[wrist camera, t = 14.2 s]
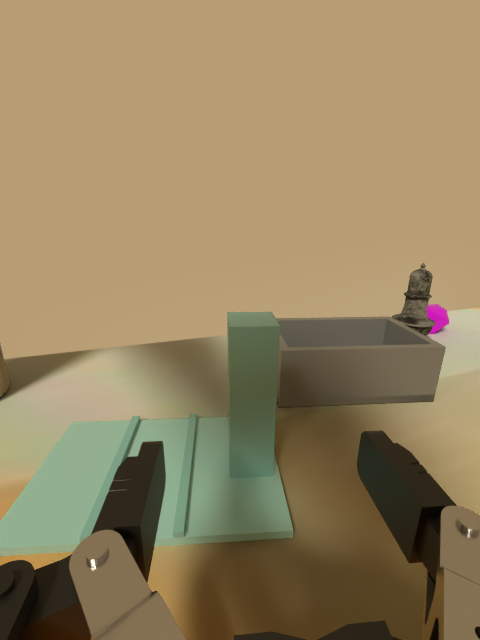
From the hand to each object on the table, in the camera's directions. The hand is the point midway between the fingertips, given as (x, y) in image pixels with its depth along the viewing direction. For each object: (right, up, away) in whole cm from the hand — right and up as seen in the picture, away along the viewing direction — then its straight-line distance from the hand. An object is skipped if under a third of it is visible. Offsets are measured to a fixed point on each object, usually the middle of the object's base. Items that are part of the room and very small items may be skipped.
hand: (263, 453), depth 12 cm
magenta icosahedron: (+31, +3, +41) cm, 51 cm away
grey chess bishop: (+25, +2, +35) cm, 43 cm away
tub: (+10, -2, +23) cm, 26 cm away
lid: (-7, -6, +10) cm, 14 cm away
